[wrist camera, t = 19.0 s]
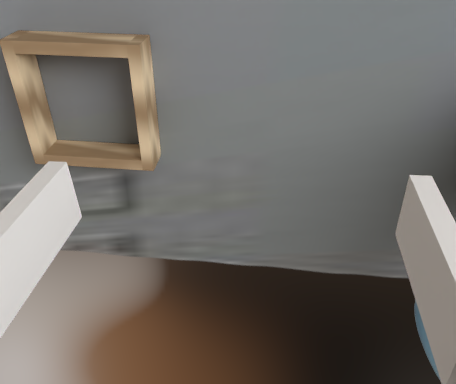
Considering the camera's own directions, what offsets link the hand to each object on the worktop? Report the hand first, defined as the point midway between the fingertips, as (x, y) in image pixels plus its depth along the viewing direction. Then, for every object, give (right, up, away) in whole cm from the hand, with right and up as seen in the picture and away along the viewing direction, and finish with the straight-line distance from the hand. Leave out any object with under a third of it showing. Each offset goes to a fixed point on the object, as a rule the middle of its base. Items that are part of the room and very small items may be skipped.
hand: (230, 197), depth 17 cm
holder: (-14, +10, +29) cm, 34 cm away
